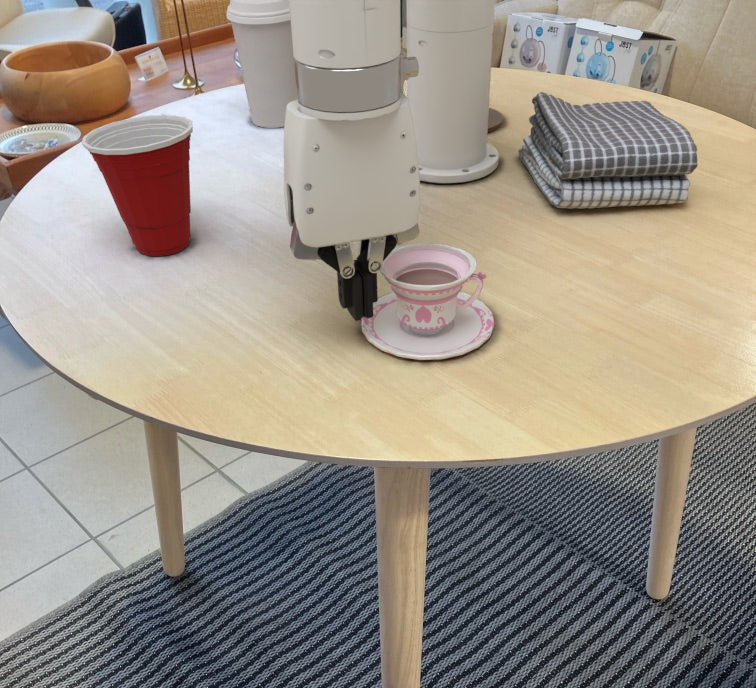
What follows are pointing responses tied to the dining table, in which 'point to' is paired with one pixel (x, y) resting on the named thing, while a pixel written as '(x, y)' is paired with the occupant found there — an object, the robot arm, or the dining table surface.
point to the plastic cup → (148, 178)
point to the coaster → (494, 120)
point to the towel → (607, 154)
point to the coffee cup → (265, 57)
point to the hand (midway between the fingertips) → (358, 311)
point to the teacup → (429, 304)
